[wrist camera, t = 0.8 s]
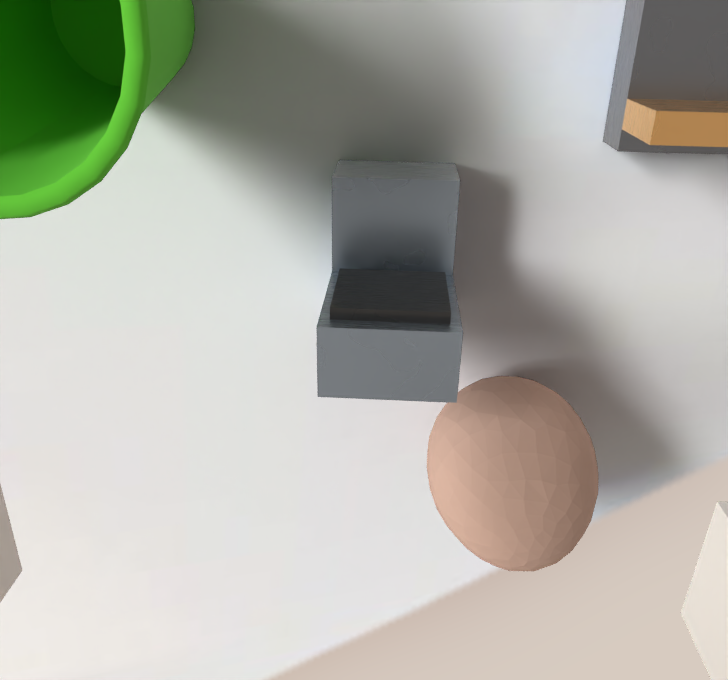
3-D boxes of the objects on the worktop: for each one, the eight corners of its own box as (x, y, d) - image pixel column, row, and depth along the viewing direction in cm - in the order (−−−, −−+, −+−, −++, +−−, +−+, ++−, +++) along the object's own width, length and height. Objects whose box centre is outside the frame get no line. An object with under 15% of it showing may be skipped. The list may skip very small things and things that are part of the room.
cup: (274, -87, 23) (175, -156, 13) (223, 171, 27) (119, 266, 17) (9, -176, 22) (-305, -319, 12) (-4, 102, 26) (-249, 160, 16)
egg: (410, 452, 32) (412, 603, 24) (443, 330, 30) (457, 455, 21) (544, 477, 33) (591, 635, 24) (590, 359, 30) (661, 493, 22)
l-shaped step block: (339, 159, 27) (315, 216, 19) (454, 163, 26) (473, 221, 19) (339, 301, 29) (317, 396, 22) (444, 304, 29) (456, 402, 22)
